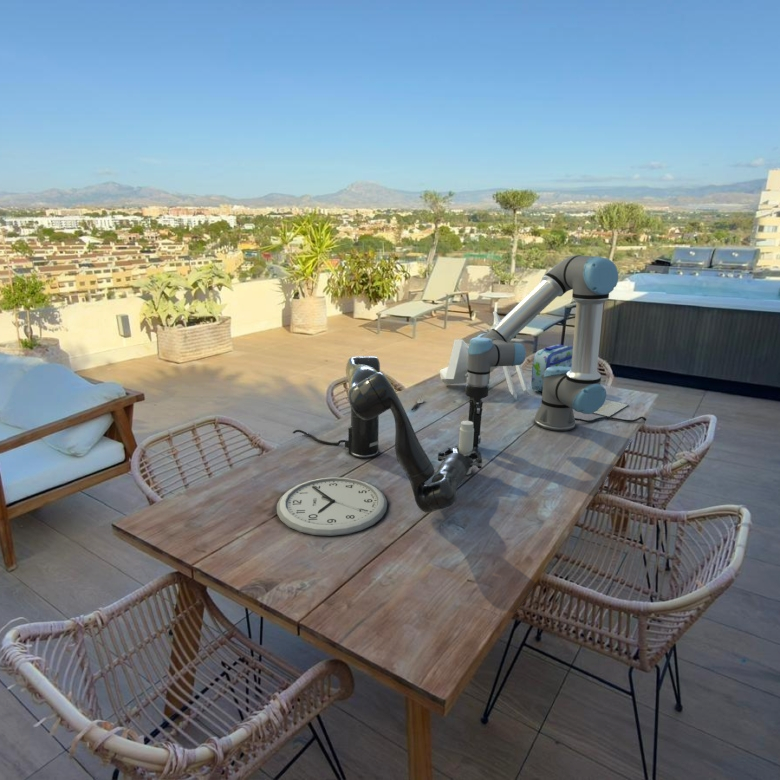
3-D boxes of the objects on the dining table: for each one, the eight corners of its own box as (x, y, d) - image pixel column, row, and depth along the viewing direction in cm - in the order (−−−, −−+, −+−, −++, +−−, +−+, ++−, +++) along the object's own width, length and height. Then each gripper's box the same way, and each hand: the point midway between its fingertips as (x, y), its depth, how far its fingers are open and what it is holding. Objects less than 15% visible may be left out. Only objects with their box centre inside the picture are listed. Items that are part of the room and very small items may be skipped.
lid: (479, 446, 177) (480, 439, 176) (463, 444, 178) (464, 438, 178) (480, 440, 182) (481, 434, 181) (465, 438, 183) (465, 432, 183)
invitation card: (608, 416, 214) (573, 407, 224) (608, 416, 214) (573, 408, 224) (628, 404, 229) (594, 396, 238) (628, 405, 229) (594, 397, 238)
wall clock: (392, 527, 129) (268, 531, 127) (391, 533, 130) (269, 537, 127) (383, 473, 158) (282, 475, 155) (383, 478, 158) (282, 480, 156)
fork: (408, 410, 217) (408, 406, 216) (419, 399, 231) (419, 395, 230) (414, 411, 216) (414, 407, 215) (425, 400, 230) (425, 396, 230)
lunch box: (547, 397, 237) (552, 352, 231) (526, 391, 245) (531, 348, 238) (574, 386, 255) (580, 344, 249) (554, 381, 262) (559, 340, 256)
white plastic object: (461, 429, 252) (437, 405, 227) (444, 352, 274) (420, 323, 250) (535, 404, 240) (518, 377, 215) (510, 326, 262) (492, 293, 237)
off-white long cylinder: (462, 467, 167) (465, 419, 162) (473, 471, 164) (477, 422, 159) (454, 471, 164) (457, 422, 159) (465, 476, 161) (468, 426, 156)
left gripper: (478, 462, 146) (491, 440, 161) (429, 454, 151) (446, 433, 166) (476, 487, 148) (489, 463, 163) (428, 477, 153) (445, 455, 168)
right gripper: (463, 376, 183) (458, 438, 190) (469, 392, 165) (463, 459, 172) (484, 377, 183) (479, 438, 190) (492, 393, 165) (486, 460, 172)
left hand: (467, 448), depth 164 cm, fingers closed on off-white long cylinder, 4 cm apart
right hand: (472, 448), depth 181 cm, fingers closed on lid, 5 cm apart
